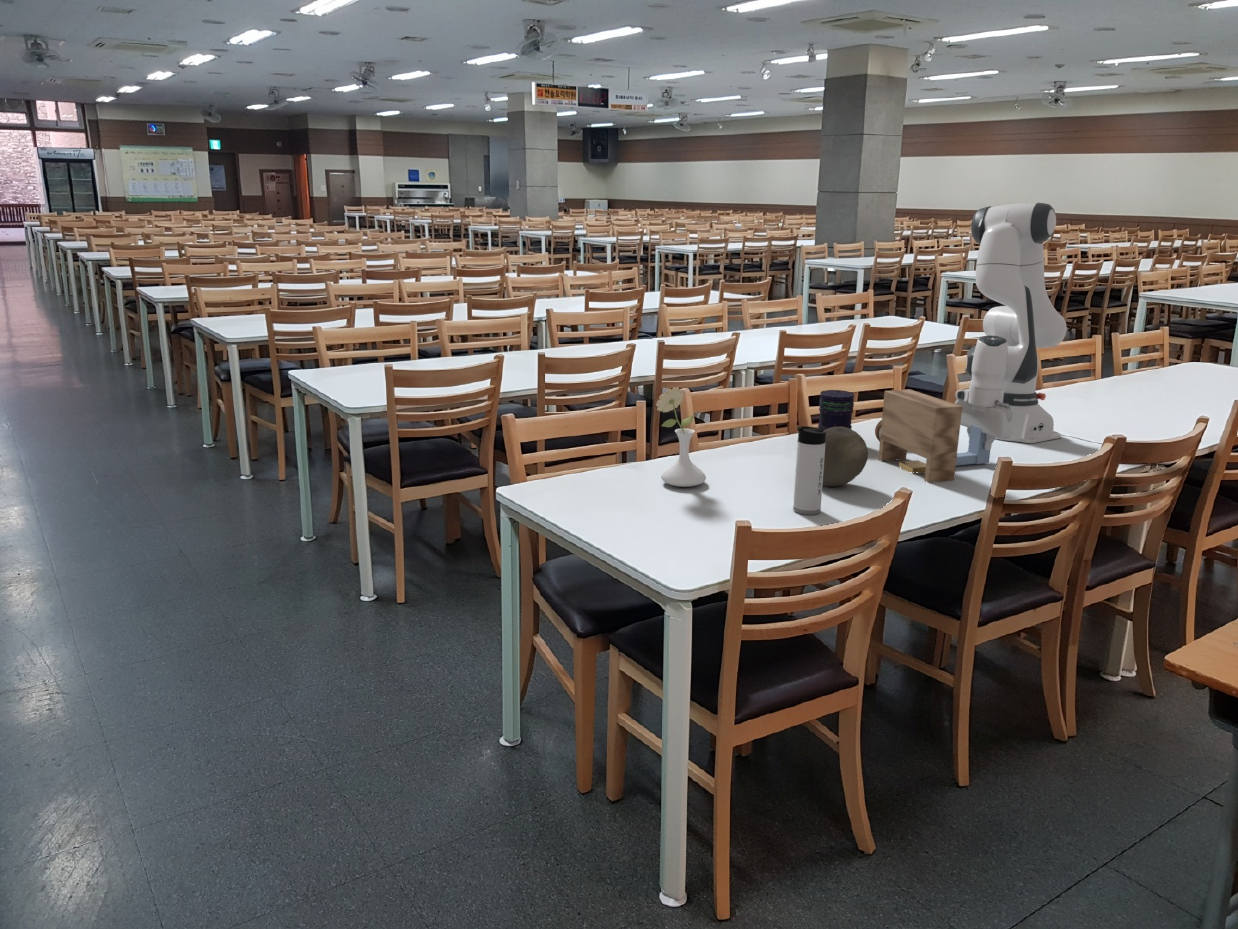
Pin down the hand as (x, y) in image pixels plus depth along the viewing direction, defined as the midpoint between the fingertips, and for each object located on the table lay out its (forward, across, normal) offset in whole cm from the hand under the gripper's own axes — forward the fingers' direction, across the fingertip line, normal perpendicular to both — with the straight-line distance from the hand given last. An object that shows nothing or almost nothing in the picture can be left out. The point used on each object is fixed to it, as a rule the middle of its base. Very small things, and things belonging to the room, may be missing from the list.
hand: (979, 446), depth 253 cm
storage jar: (+5, +31, +26) cm, 41 cm away
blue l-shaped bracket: (+4, 0, +6) cm, 7 cm away
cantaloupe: (+5, -6, +48) cm, 49 cm away
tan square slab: (+5, 0, +20) cm, 21 cm away
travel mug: (+5, -21, +65) cm, 69 cm away
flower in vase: (+5, +7, +85) cm, 86 cm away
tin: (+5, +22, +9) cm, 24 cm away
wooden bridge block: (+5, 0, +20) cm, 21 cm away
